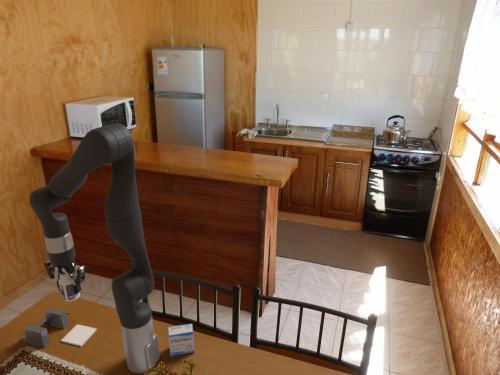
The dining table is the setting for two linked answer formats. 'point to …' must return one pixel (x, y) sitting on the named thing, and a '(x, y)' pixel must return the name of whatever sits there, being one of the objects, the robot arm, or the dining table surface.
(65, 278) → the pill bottle
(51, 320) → the dumbbell
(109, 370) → the dining table surface
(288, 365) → the dining table surface
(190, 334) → the medicine box
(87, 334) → the mat
